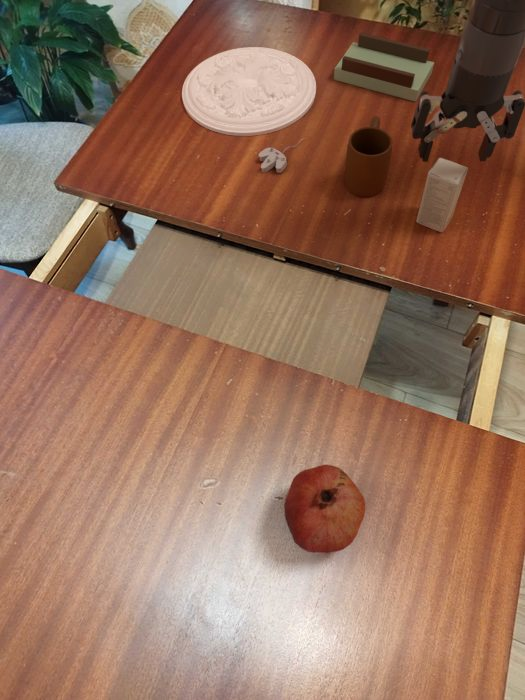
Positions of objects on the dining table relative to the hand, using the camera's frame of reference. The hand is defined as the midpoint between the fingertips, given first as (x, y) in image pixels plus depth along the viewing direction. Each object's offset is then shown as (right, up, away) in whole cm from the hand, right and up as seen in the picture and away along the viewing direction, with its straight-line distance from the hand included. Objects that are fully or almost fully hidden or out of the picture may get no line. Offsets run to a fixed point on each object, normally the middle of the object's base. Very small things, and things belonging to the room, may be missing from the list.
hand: (452, 157), depth 82 cm
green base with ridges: (-4, +28, +32) cm, 43 cm away
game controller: (-25, +8, +21) cm, 33 cm away
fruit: (-21, -51, -12) cm, 57 cm away
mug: (-10, +3, +18) cm, 21 cm away
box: (+1, -7, +12) cm, 14 cm away
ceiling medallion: (-32, +25, +31) cm, 51 cm away
